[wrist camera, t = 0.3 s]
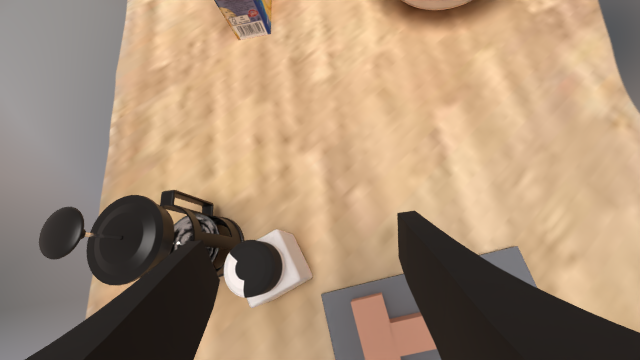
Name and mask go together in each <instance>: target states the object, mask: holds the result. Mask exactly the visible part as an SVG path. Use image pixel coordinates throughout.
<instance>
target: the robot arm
mask: <svg viewBox="0 0 640 360" xmlns="http://www.w3.org/2000/svg"><path fill="white" fill-rule="evenodd" d="M397 214H398V249H399V260H400V263H401V266H402V269H403V272H404V275H405V278H406V281H407V284H408V286H409V288H410V291H411V293H412V295H413V297H414V299H415V302H416V304H417V306H418V308H419V310H420V313H421V315H422V317H423V319H424V321H425V323H426V326H427V328H428V330H429V332H430V334H431V337H432V339H433V341H434V343H435V345H436V348H437V350H438V352H439V355H440V357H441V360H640V333H639V332H636V331H634V330H631V329H629V328H626V327H624V326H621V325H619V324H616V323H614V322H611V321H609V320H606V319H604V318H602V317H599V316H597V315H595V314H592V313H590V312H588V311H585V310H583V309H581V308H579V307H577V306H574V305H572V304H570V303H568V302H566V301H563V300H561V299H559V298H557V297H555V296H553V295H550V294H548V293H546V292H544V291H542V290H540V289H538V288H536V287H534V286H532V285H530V284H528V283H526V282H525V281H523V280H521V279H519V278H517V277H515V276H513V275H511V274H510V273H508V272H506V271H504V270H502V269H500V268H499V267H497V266H495V265H494V264H492V263H490V262H489V261H487V260H485V259H484V258H482V257H480V256H479V255H477V254H476V253H474V252H472V251H471V250H469V249H468V248H466V247H465V246H463V245H462V244H460V243H459V242H457V241H456V240H454V239H453V238H451V237H450V236H449V235H447V234H446V233H444V232H443V231H442V230H440V229H439V228H437V227H436V226H435V225H433V224H432V223H431V222H429V221H428V220H427V219H425V218H424V217H423V216H421V215H420V214H419V213H417V212H416V211H409V212H402V213H397ZM219 282H220V279H219V277H218V275H217V272H216V270H215V268H214V265H213V263H212V261H211V259H210V256H209V254H208V252H207V249H206V247H205V245H204V242H203V240H198V241H191V242H186V243H185V244H183V245H182V246H180V247H179V248H178V249H176V250H175V251H174V252H172V253H171V254H170V255H169V256H167V257H166V258H165V259H164V260H162V261H161V262H160V263H159V264H157V265H156V266H155V267H154V268H152V269H151V270H150V271H149V272H147V273H146V274H145V275H144V276H143V277H141V278H140V279H139V280H138V281H136V282H135V283H134V284H133V285H131V286H130V287H129V288H127V289H126V290H125V291H123V292H122V293H121V294H120V295H118V296H117V297H116V298H114V299H113V300H112V301H110V302H109V303H108V304H106V305H105V306H104V307H103V308H101V309H100V310H99V311H97V312H96V313H94V314H93V315H92V316H90V317H89V318H88V319H86V320H85V321H83V322H82V323H80V324H79V325H78V326H76V327H75V328H73V329H72V330H70V331H69V332H67V333H66V334H64V335H63V336H61V337H60V338H59V339H57V340H55V341H54V342H52V343H51V344H49V345H48V346H46V347H44V348H43V349H41V350H40V351H38V352H36V353H35V354H33V355H32V356H30V357H28V358H27V359H25V360H193V359H194V357H195V354H196V352H197V349H198V347H199V344H200V341H201V339H202V336H203V334H204V331H205V328H206V326H207V323H208V320H209V318H210V315H211V312H212V310H213V307H214V303H215V299H216V295H217V291H218V286H219Z"/></svg>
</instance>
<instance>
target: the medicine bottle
mask: <svg viewBox="0 0 640 360" xmlns="http://www.w3.org/2000/svg"><path fill="white" fill-rule="evenodd" d="M312 277H313V275H312V273H311V271H310V269H309V267H308V264H307V262H306V260H305V258H304V256H303V254H302V252H301V250H300V248H299V246H298V244H297V241H296V239H295V237H294V235H293V234H291V233H287V232H284V231H281V230H278V229H275V230H273V231H272V232H270V233H268V234H267V235H265V236H263V237H261V238H260V239H258V240H246V241H243V242H241V243H239V244H237V245H236V246H235V247H234V248H233V249H232V250H231V251H230V252H229V254H228V256H227V258H226V261H225V264H224V278H225V281H226V284H227V286H228V287H229V289H230V290H231V291H232V292H233V293H234V294H236V295H238V296H240V297H244V298H247V300H248V303H249V306H250V307H251V308H253V307H256V306H259V305H262V304H264V303H267V302H270V301H272V300H274V299H276V298H278V297H279V296H281V295H283V294H285V293H287V292H288V291H290V290H292V289H294V288H295V287H297V286H299V285H301V284H302V283H304V282H306V281H308V280H310V279H311V278H312Z"/></svg>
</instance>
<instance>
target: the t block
mask: <svg viewBox="0 0 640 360" xmlns="http://www.w3.org/2000/svg"><path fill="white" fill-rule="evenodd" d="M351 306H352V310H353V314H354V318H355V322H356V326H357V330H358V333H359V337H360V341H361V345H362V349H363V353H364V357H365V360H401V357H400V356H405V355H410V354H414V353H419V352H424V351H429V350H434V349H437V348H436V345H435V343H434V341H433V339H432V337H431V334H430V332H429V330H428V328H427V326H426V323H425V321H424V319H423V317H422V315H421V313H420V312H418V313H414V314H409V315H405V316H401V317H396V318H392V319H389V316H388V313H387V309H386V306H385V303H384V299H383V296H382V292H381V293H377V294H373V295H368V296H364V297H360V298H356V299H352V301H351Z"/></svg>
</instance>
